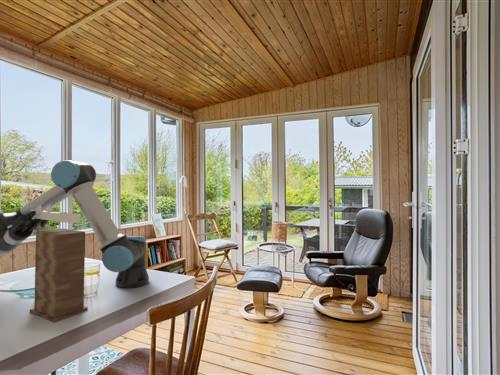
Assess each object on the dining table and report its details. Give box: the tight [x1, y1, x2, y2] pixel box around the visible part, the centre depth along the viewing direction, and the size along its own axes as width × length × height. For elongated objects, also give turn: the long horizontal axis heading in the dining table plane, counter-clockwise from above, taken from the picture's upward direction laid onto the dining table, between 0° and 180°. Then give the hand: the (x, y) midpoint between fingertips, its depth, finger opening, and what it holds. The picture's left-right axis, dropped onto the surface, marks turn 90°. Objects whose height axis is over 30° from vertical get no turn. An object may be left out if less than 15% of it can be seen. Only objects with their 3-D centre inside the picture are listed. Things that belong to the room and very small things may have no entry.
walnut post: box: [29, 228, 89, 323], centre depth 110 cm, size 16×12×30 cm
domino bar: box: [30, 210, 82, 224], centre depth 112 cm, size 28×3×3 cm, turn 62°
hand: (46, 208), depth 115 cm, fingers closed on domino bar, 3 cm apart
